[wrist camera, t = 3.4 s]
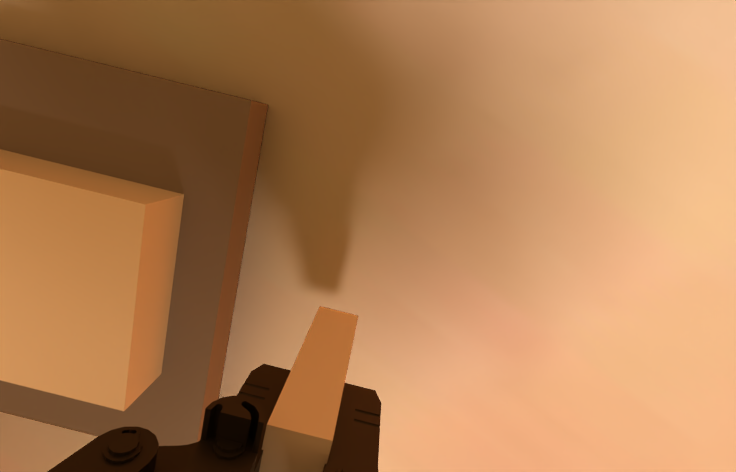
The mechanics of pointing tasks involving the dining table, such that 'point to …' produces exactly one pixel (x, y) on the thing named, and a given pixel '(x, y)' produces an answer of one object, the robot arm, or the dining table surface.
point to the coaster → (83, 280)
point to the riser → (157, 169)
